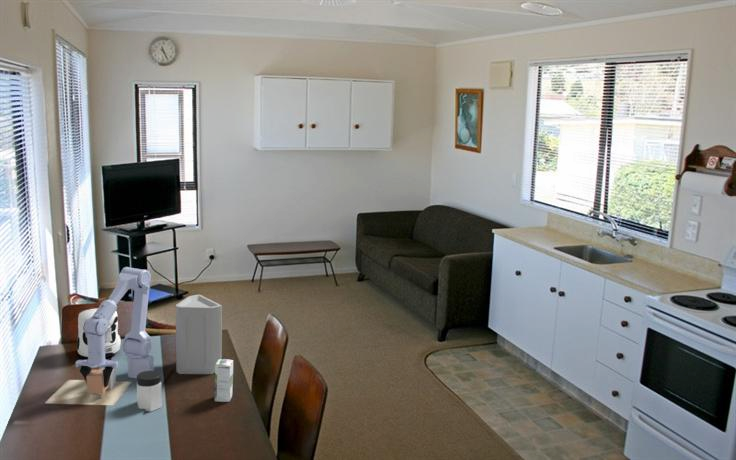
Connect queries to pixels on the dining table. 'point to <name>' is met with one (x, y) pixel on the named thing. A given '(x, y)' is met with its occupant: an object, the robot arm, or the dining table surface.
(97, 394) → the letter cube
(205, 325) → the white triangular prism
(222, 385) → the syrup box
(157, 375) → the jar
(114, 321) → the milk container
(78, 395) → the birch board
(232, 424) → the dining table surface
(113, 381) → the grey cover
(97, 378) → the terracotta cover
